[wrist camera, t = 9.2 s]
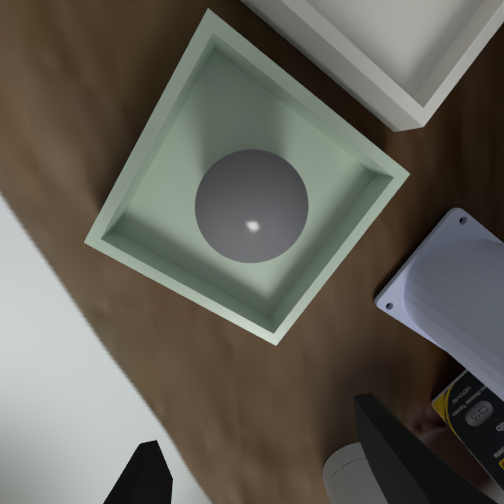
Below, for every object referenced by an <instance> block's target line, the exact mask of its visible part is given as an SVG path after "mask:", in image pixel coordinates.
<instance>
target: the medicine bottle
mask: <svg viewBox="0 0 504 504" xmlns="http://www.w3.org/2000/svg"><path fill="white" fill-rule="evenodd" d="M432 406H433V407H434V409H435V410H436V411H437V412H438V413H439V415H440V416H441V417H442V418H443V419H444V421H445V422H446V423H447V424H448V425H449V427H450V428H451V429H452V430H453V431H454V433H455V434H456V435H457V436H458V438H459V439H460V440H461V441H462V442H463V444H464V445H465V446H466V447H467V448H468V450H469V451H470V452H471V453H472V454H473V455H474V457H475V458H476V459H477V460H478V461H479V463H480V464H481V465H482V466H483V468H484V469H485V470H486V471H487V472H488V474H489V475H490V476H491V477H492V478H493V480H494V481H495V482H496V483H497V484H498V486H499V487H500V488H501V489H502V490H503V492H504V401H503V400H502V399H500V398H499V397H498V396H497V395H496V394H495V393H494V392H492V391H491V390H490V389H489V388H488V387H487V386H486V385H484V384H483V383H482V382H481V381H480V380H479V379H478V378H476V377H475V376H474V375H473V374H472V373H471V372H470V371H468V370H467V369H466V370H464V371H463V372H462V373H461V374H460V375H459V376H458V377H457V378H456V379H455V380H454V381H453V382H452V383H450V384H449V385H448V386H447V387H446V388H445V389H444V390H443V391H442V392H441V393H440V394H439V395H438V396H437V397H435V398H434V399H433V400H432Z"/></svg>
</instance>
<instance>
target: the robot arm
mask: <svg viewBox="0 0 504 504" xmlns="http://www.w3.org/2000/svg"><path fill="white" fill-rule="evenodd" d="M460 218H462V221H461V222H460V223H459V220H460ZM388 303H390V305H389V306H388V307H386V305H387V304H388ZM375 305H376V306H377V307H378V308H380V309H381V310H383V311H384V312H386V313H387V314H389V315H391V316H392V317H394V318H395V319H397V320H398V321H400V322H401V323H403V324H405V325H406V326H408V327H409V328H411V329H412V330H414V331H415V332H417V333H419V334H420V335H422V336H423V337H425V338H426V339H428V340H430V341H431V342H433V343H434V344H436V345H437V346H439V347H440V348H442V349H444V350H445V351H447V352H448V353H449V354H450V355H451V356H452V357H454V358H455V359H456V360H457V361H458V362H459V363H460V364H462V365H463V366H464V367H465V368H466V369H467V370H468V371H470V372H471V373H472V374H473V375H474V376H475V377H476V378H478V379H479V380H480V381H481V382H482V383H483V384H484V385H486V386H487V387H488V388H489V389H490V390H491V391H492V392H494V393H495V394H496V395H497V396H498V397H499V398H500V399H502V400H503V401H504V243H503V242H502V241H500V240H499V239H498V238H497V237H496V236H494V235H493V234H492V233H491V232H490V231H488V230H487V229H486V228H485V227H483V226H482V225H481V224H480V223H479V222H477V221H476V220H475V219H474V218H473V217H471V216H470V215H469V214H468V213H467V212H465V211H464V210H463V209H461V208H452V209H450V210H449V211H448V212H447V214H446V215H445V216H444V217H443V218H442V219H441V221H440V222H439V223H438V224H437V225H436V227H435V228H434V229H433V230H432V231H431V233H430V234H429V235H428V236H427V237H426V239H425V240H424V241H423V242H422V243H421V244H420V246H419V247H418V248H417V249H416V250H415V252H414V253H413V254H412V255H411V256H410V258H409V259H408V260H407V261H406V262H405V263H404V265H403V266H402V267H401V268H400V269H399V271H398V272H397V273H396V274H395V275H394V277H393V278H392V279H391V280H390V281H389V282H388V284H387V285H386V286H385V287H384V288H383V290H382V291H381V292H380V293H379V294H378V296H377V297H376V298H375ZM354 402H355V412H356V421H357V431H358V439H359V441H360V444H361V446H362V449H363V451H364V454H365V456H366V459H367V461H368V464H369V466H370V468H371V471H372V473H373V475H374V477H375V479H376V481H377V483H378V485H379V487H380V489H381V491H382V493H383V495H384V497H385V499H386V501H387V502H388V504H498V503H496V502H495V501H494V500H492V499H491V498H490V497H488V496H487V495H486V494H484V493H483V492H482V491H481V490H479V489H478V488H477V487H475V486H474V485H473V484H472V483H470V482H469V481H468V480H467V479H465V478H464V477H463V476H462V475H460V474H459V473H458V472H457V471H456V470H454V469H453V468H452V467H451V466H449V465H448V464H447V463H446V462H445V461H443V460H442V459H441V458H440V457H439V456H438V455H436V454H435V453H434V452H433V451H432V450H431V449H430V448H428V447H427V446H426V445H425V444H424V443H423V442H422V441H421V440H420V439H418V438H417V437H416V436H415V435H414V434H413V433H412V432H411V431H410V430H409V429H408V428H406V427H405V426H404V425H403V424H402V423H401V422H400V421H399V420H398V419H397V418H396V417H395V416H394V415H393V414H392V413H391V412H390V411H389V410H388V409H387V408H386V407H385V406H384V405H383V404H382V403H381V402H380V401H379V400H378V399H377V398H376V397H375V396H374V395H373V394H371V393H368V394H363V395H358V396H354ZM172 485H173V478H172V476H171V473H170V471H169V469H168V466H167V464H166V461H165V459H164V456H163V454H162V452H161V449H160V447H159V444H158V442H157V440H155V441H150V442H145V443H141V444H139V446H138V447H137V449H136V450H135V452H134V454H133V456H132V457H131V459H130V461H129V462H128V464H127V466H126V467H125V469H124V471H123V472H122V474H121V475H120V477H119V479H118V480H117V482H116V484H115V485H114V487H113V489H112V490H111V492H110V494H109V495H108V497H107V498H106V500H105V501H104V503H103V504H171V497H172Z"/></svg>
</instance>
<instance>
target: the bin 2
mask: <svg viewBox="0 0 504 504" xmlns="http://www.w3.org/2000/svg"><path fill="white" fill-rule="evenodd" d="M240 1H241V2H242V3H243V4H245V5H246V6H247V7H248V8H249V9H250V10H252V11H253V12H254V13H255V14H256V15H257V16H259V17H260V18H261V19H262V20H263V21H264V22H266V23H267V24H268V25H269V26H270V27H272V28H273V29H274V30H275V31H276V32H277V33H279V34H280V35H281V36H282V37H283V38H284V39H286V40H287V41H288V42H289V43H290V44H291V45H293V46H294V47H295V48H296V49H297V50H298V51H300V52H301V53H302V54H303V55H304V56H305V57H307V58H308V59H309V60H310V61H311V62H313V63H314V64H315V65H316V66H317V67H318V68H320V69H321V70H322V71H323V72H324V73H325V74H327V75H328V76H329V77H330V78H331V79H332V80H334V81H335V82H336V83H337V84H338V85H339V86H341V87H342V88H343V89H344V90H345V91H346V92H348V93H349V94H350V95H351V96H352V97H354V98H355V99H356V100H357V101H358V102H359V103H361V104H362V105H363V106H364V107H365V108H366V109H368V110H369V111H370V112H371V113H372V114H373V115H375V116H376V117H377V118H378V119H379V120H380V121H382V122H383V123H384V124H385V125H386V126H387V127H389V128H390V129H391V130H392V131H393V132H398V131H403V130H409V129H415V128H421V127H424V126H425V124H426V123H427V122H428V120H429V119H430V118H431V116H432V115H433V114H434V112H435V111H436V110H437V109H438V107H439V106H440V105H441V103H442V102H443V101H444V99H445V98H446V97H447V95H448V94H449V93H450V91H451V90H452V89H453V87H454V86H455V85H456V84H457V82H458V81H459V80H460V78H461V77H462V76H463V74H464V73H465V72H466V70H467V69H468V68H469V66H470V65H471V64H472V63H473V61H474V60H475V59H476V57H477V56H478V55H479V53H480V52H481V51H482V49H483V48H484V47H485V45H486V44H487V43H488V42H489V40H490V39H491V38H492V36H493V35H494V34H495V32H496V31H497V30H498V28H499V27H500V26H501V24H502V23H503V22H504V0H240Z"/></svg>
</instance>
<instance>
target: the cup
mask: <svg viewBox="0 0 504 504" xmlns="http://www.w3.org/2000/svg"><path fill="white" fill-rule="evenodd" d="M322 477H323V481H324V484H325V487H326V491H327V494H328V498H329V502H330V504H388V502H387V501H386V499H385V497H384V495H383V493H382V491H381V489H380V487H379V485H378V483H377V481H376V479H375V477H374V475H373V473H372V471H371V468H370V466H369V464H368V461H367V459H366V456H365V454H364V451H363V449H362V446H361V444H360V442H358V443H353V444H350V445H347V446H345V447H343V448H341V449H339V450H337V451H336V452H335V453H333V454H332V455H331V456H330V457H329V458H328V460H327V461H326V463H325V465H324V467H323V471H322Z"/></svg>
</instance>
